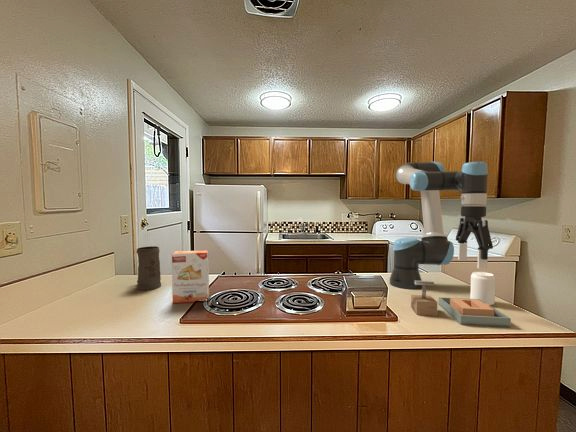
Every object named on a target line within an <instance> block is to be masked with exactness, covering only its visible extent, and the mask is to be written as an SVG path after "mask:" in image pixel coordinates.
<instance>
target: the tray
mask: <svg viewBox="0 0 576 432" xmlns="http://www.w3.org/2000/svg"><path fill="white" fill-rule="evenodd" d="M450 298H452V299H467V298H463V297H461V298H460V297H438V306H440V307H441V309H443V310H444V311H445V312H446V313H447V314H448V315H449V316H450V317H452V319H454V320H455V321H456V322H457V323H458V324H459V325H462V326H463V325H465V326H479V327H496V328H497V327H498V328H511V322H512V321H511V319H512V318H511V317H510V316H508V315H507V314H504V313H503V312H501V311H499V310H498V309H497V308H495V307H493V306H492V305H490V306H491V308H492V309H494V317H488V316H469V315H461V314H460V313H459V312H457V311H456V310H455V309H454V308H453V307H451V306H450ZM475 300H480V301H481V302H483V303H485V302H484V301H482V300H481V299H475ZM486 304H487V303H486Z"/></svg>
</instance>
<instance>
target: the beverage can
mask: <svg viewBox="0 0 576 432" xmlns="http://www.w3.org/2000/svg"><path fill="white" fill-rule="evenodd" d="M495 293H496V276H494V274H493V273H491V272H490V273H489V272H486V271H473V272H472V273H471V275H470V295H469V296H470V297H469V299H481V300H482V301H484V302H485V303H487V304H489V305H490V306H492V305H494V304H495V298H496V297H495V296H496V295H495Z"/></svg>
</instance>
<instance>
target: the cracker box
mask: <svg viewBox="0 0 576 432" xmlns="http://www.w3.org/2000/svg"><path fill="white" fill-rule="evenodd" d="M209 262H210V261H209V250H176V251H173V253H172V254H171V273H172V274H171V275H172V276H171V278H172V280H171V281H172V282H171V283H172V284H171V285H172V287H171V289H172V304H180V303H182V304H183V303H196V302H195V301H197V300H203V299H207V298H208V297H210V287H209V286H210V279H209V278H210V276H209V275H210V272H209V267H210V266H209V265H210V263H209ZM208 299H209V298H208Z"/></svg>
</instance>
